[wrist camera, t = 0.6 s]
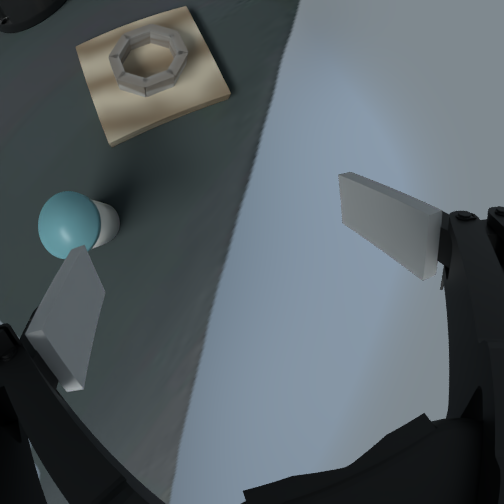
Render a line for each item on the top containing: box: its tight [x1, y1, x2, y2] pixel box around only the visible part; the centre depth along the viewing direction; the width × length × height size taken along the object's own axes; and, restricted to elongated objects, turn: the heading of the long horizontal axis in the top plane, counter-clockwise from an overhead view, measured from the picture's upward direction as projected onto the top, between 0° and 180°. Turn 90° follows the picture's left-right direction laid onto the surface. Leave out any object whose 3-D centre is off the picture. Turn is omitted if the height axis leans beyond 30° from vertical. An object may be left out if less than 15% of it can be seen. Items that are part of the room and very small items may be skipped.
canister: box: [38, 191, 120, 259], centre depth 28 cm, size 5×5×14 cm
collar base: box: [76, 6, 231, 147], centre depth 31 cm, size 16×16×5 cm
